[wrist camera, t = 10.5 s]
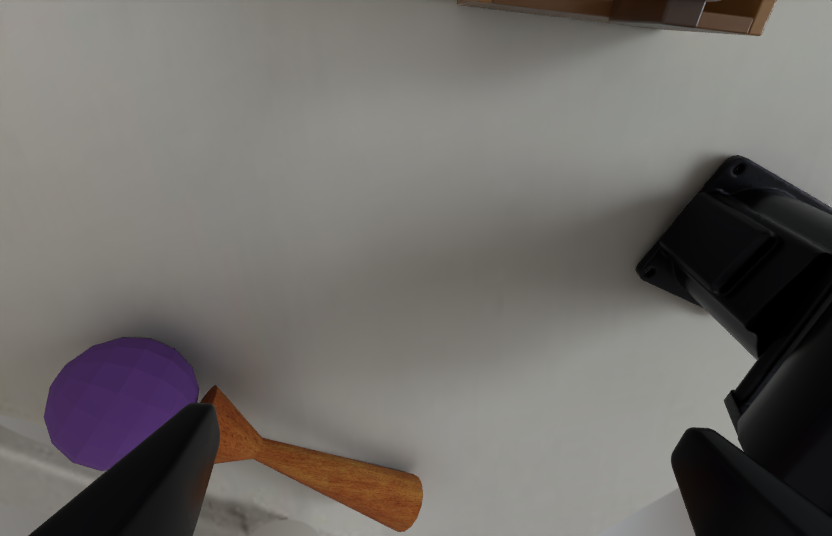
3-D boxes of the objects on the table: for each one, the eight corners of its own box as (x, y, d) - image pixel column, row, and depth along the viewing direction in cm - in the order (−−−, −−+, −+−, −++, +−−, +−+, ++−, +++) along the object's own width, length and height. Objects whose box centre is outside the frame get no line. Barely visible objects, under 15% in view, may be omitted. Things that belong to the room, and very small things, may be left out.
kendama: (372, 567, 27) (-1, 463, 19) (381, 469, 31) (82, 352, 23) (437, 544, 24) (22, 410, 16) (437, 440, 28) (114, 293, 20)
